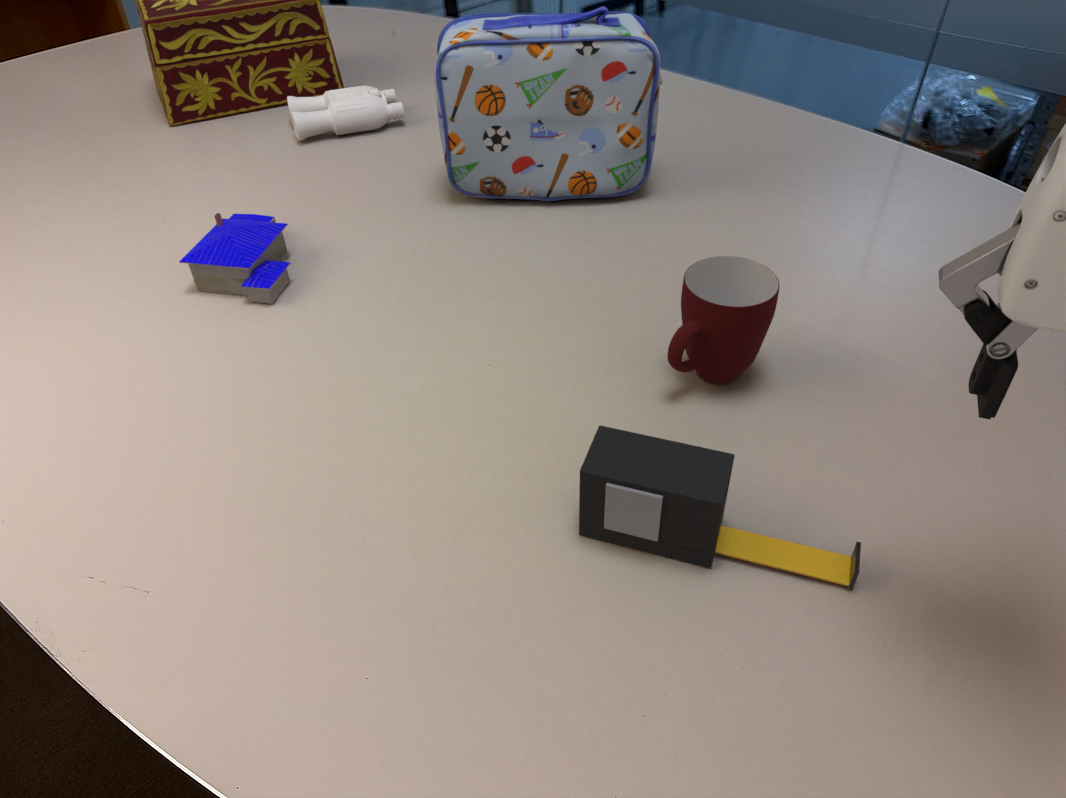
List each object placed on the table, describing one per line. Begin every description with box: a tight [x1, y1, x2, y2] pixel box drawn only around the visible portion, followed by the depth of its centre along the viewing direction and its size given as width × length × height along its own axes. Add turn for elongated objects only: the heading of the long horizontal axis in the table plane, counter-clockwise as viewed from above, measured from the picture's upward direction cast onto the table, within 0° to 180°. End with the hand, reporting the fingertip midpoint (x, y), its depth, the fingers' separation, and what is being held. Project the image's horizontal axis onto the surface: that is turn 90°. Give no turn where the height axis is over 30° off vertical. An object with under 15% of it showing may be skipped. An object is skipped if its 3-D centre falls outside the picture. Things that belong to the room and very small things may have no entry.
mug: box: [667, 255, 781, 386], centre depth 71 cm, size 10×8×10 cm
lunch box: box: [434, 5, 664, 202], centre depth 97 cm, size 28×10×22 cm, turn 92°
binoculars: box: [287, 85, 405, 142], centre depth 120 cm, size 10×16×5 cm, turn 109°
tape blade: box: [714, 524, 862, 591], centre depth 58 cm, size 10×3×2 cm, turn 70°
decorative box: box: [134, 0, 345, 127], centre depth 129 cm, size 28×19×15 cm
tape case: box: [578, 425, 736, 569], centre depth 59 cm, size 10×6×7 cm, turn 70°
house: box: [178, 212, 291, 305], centre depth 90 cm, size 11×14×6 cm
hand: (1047, 412), depth 45 cm, fingers open, 5 cm apart
